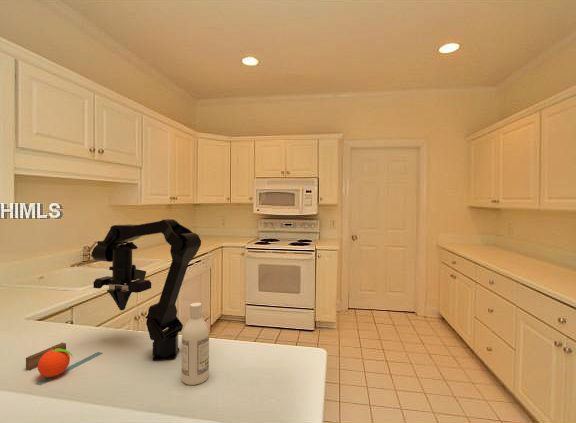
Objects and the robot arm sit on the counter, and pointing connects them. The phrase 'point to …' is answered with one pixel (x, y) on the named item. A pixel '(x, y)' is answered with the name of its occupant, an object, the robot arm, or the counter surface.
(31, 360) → the rail
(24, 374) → the counter surface
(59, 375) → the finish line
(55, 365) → the clementine
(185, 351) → the bath foam
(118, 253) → the robot arm
